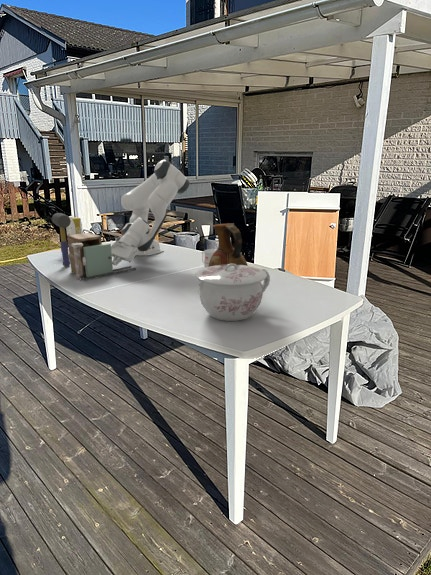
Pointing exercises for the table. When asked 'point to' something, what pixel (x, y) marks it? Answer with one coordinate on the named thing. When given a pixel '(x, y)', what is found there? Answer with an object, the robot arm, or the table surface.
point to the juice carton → (74, 226)
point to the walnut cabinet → (80, 250)
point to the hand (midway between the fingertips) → (113, 264)
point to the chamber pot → (231, 290)
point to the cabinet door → (97, 259)
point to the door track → (115, 271)
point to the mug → (207, 256)
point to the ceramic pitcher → (227, 246)
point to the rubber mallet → (62, 234)
